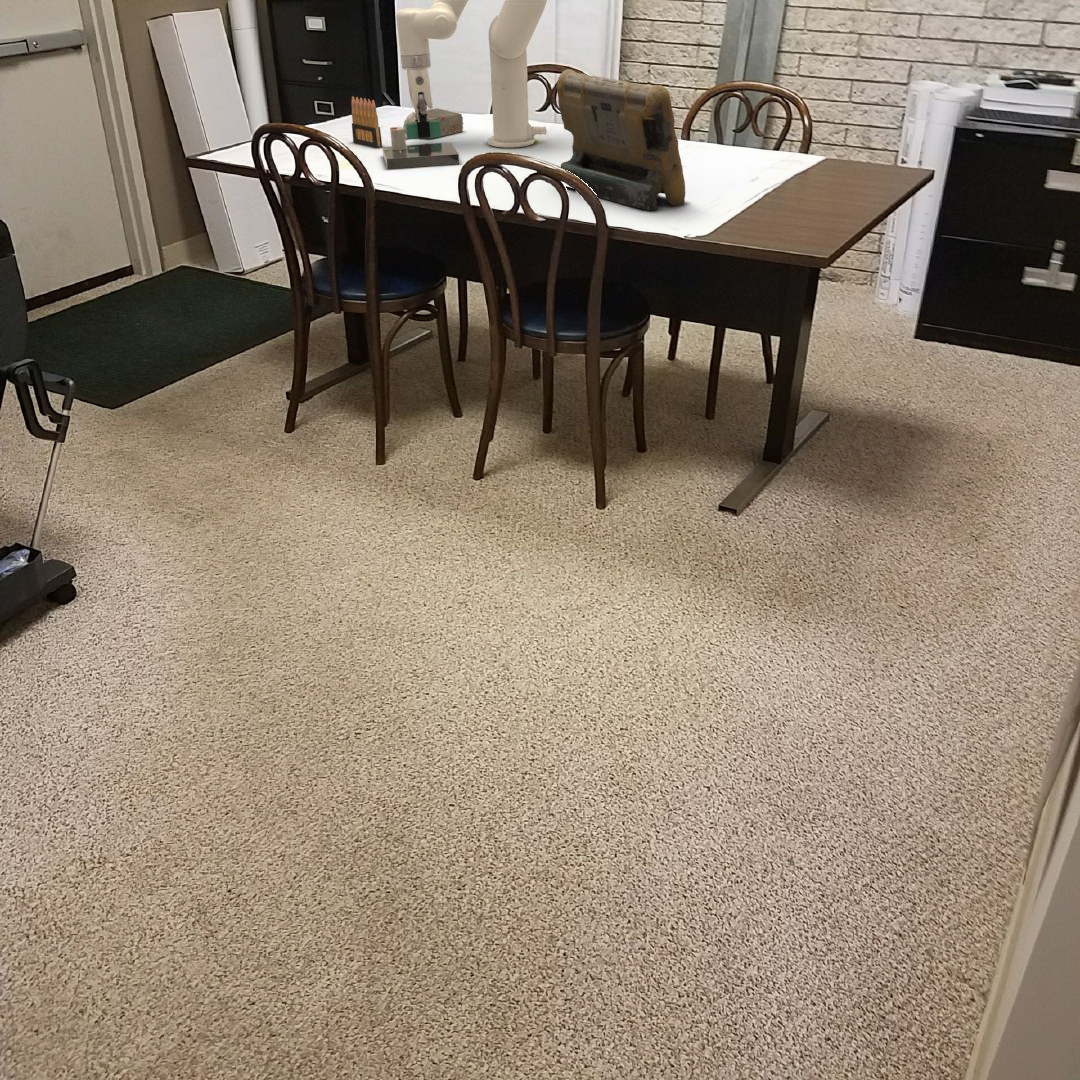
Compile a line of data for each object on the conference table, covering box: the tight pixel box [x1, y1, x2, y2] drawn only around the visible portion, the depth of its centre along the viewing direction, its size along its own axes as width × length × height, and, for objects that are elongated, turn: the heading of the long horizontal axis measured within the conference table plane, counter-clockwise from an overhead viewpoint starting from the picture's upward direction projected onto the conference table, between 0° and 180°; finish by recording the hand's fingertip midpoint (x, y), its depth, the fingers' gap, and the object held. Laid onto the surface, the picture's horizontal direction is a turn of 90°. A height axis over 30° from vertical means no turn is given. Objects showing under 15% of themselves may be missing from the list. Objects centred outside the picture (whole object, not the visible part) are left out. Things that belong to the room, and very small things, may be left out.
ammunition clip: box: [351, 95, 383, 149], centre depth 285 cm, size 11×2×12 cm, turn 45°
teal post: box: [405, 120, 442, 141], centre depth 282 cm, size 4×12×4 cm, turn 102°
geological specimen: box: [402, 108, 464, 140], centre depth 298 cm, size 11×6×15 cm
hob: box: [381, 141, 460, 170], centre depth 271 cm, size 18×14×3 cm
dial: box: [389, 126, 407, 151], centre depth 270 cm, size 4×4×5 cm
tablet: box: [556, 68, 686, 212], centre depth 232 cm, size 33×14×25 cm, turn 44°
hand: (423, 135), depth 283 cm, fingers closed on teal post, 3 cm apart
